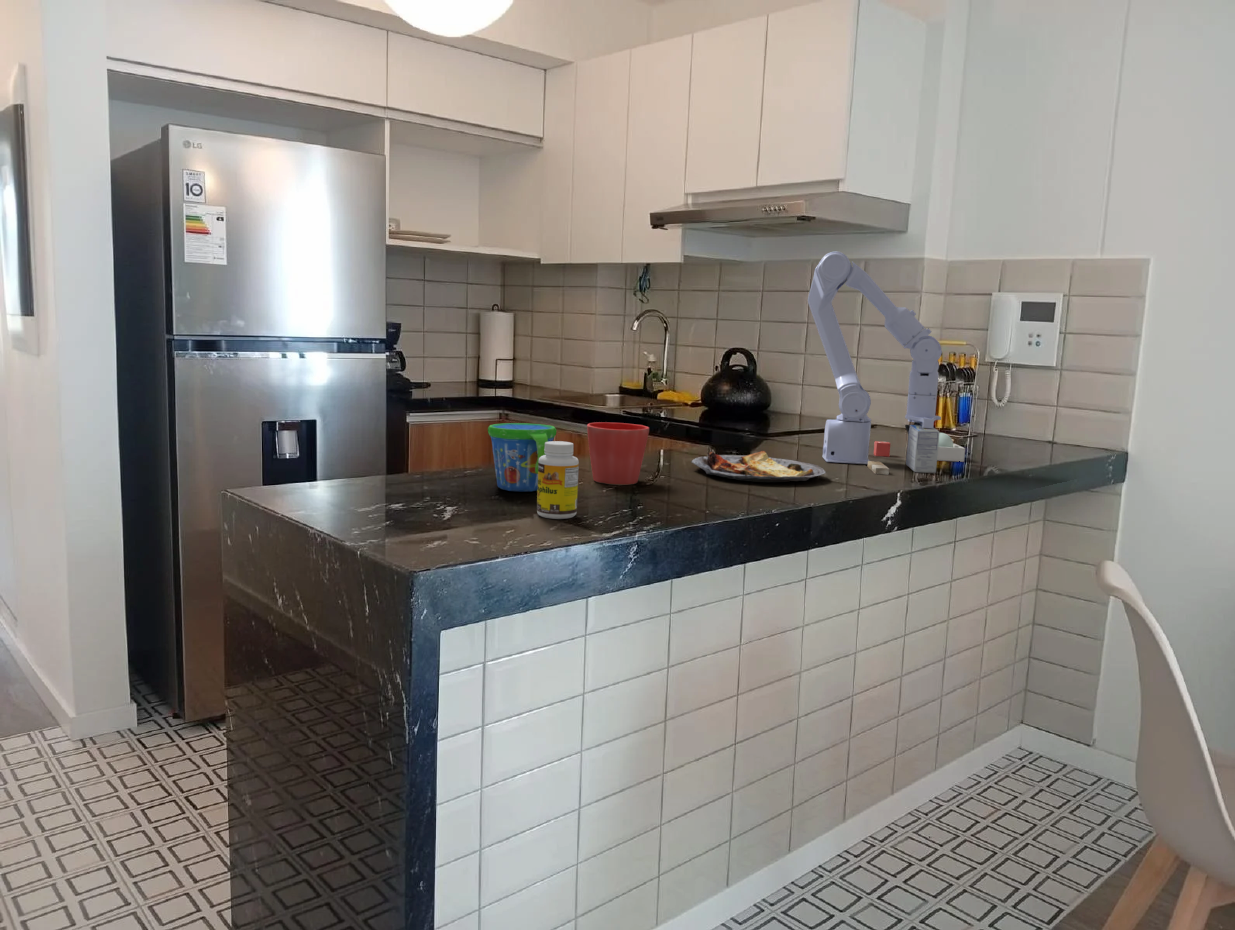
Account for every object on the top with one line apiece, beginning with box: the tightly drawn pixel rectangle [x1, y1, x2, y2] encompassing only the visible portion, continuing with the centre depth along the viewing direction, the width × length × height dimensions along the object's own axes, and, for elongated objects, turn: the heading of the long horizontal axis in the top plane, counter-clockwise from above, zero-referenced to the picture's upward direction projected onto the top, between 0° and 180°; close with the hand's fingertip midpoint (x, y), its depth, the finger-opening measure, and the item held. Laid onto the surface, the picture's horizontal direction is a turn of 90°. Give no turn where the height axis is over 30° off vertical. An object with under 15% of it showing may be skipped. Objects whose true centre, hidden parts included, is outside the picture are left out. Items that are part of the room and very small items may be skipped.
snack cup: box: [487, 422, 557, 493], centre depth 147 cm, size 16×10×10 cm
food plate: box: [690, 450, 826, 483], centre depth 174 cm, size 25×23×4 cm
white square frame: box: [937, 443, 966, 463], centre depth 210 cm, size 9×9×3 cm
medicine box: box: [905, 424, 940, 474], centre depth 188 cm, size 8×4×9 cm, turn 175°
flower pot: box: [586, 421, 650, 486], centre depth 159 cm, size 11×11×10 cm
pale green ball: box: [938, 432, 954, 447], centre depth 210 cm, size 6×6×6 cm
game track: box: [867, 460, 890, 476], centre depth 186 cm, size 2×10×1 cm, turn 174°
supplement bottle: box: [536, 440, 580, 520], centre depth 128 cm, size 6×6×10 cm
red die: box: [873, 440, 891, 458], centre depth 210 cm, size 3×3×3 cm
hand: (917, 459), depth 194 cm, fingers closed, pressing on medicine box
